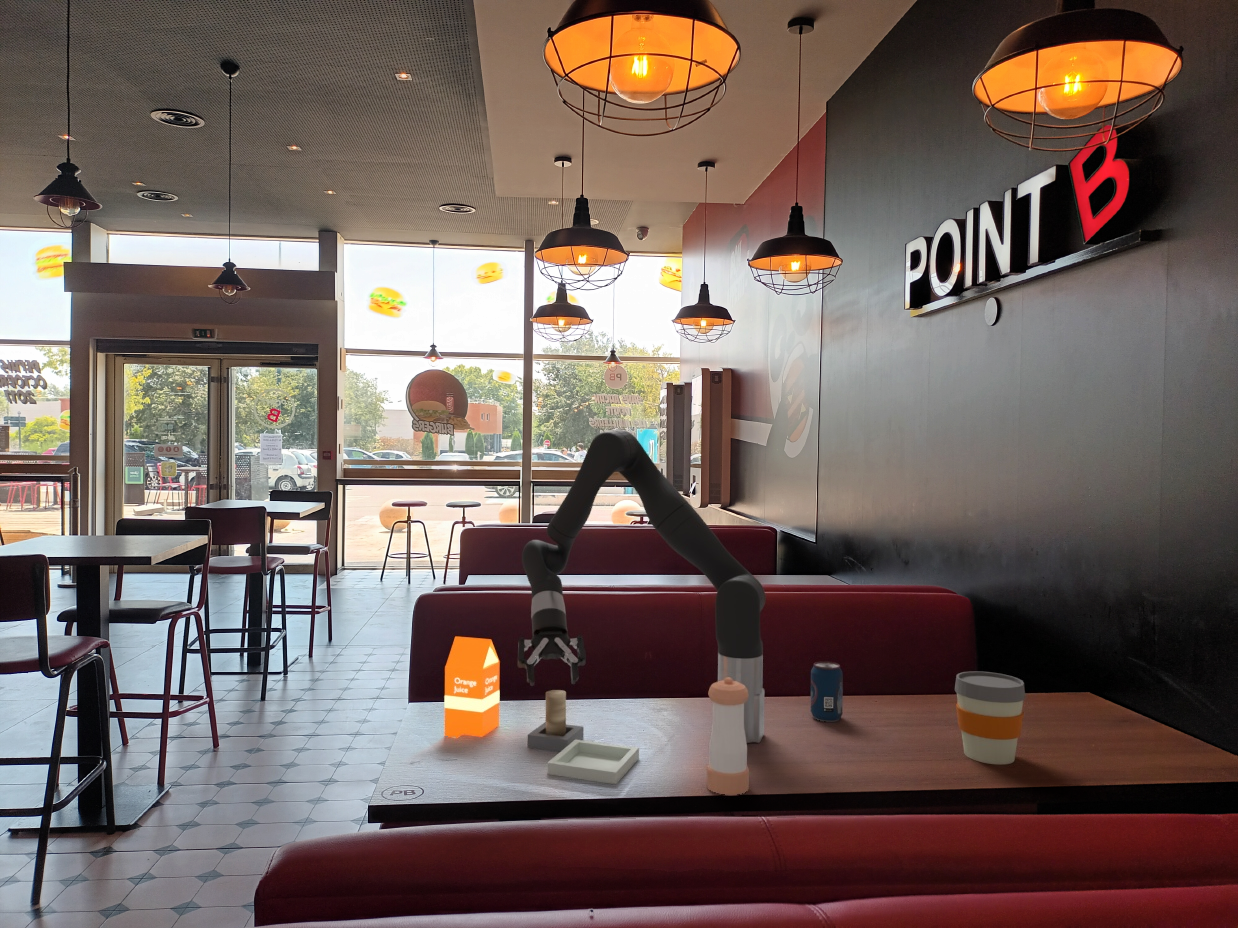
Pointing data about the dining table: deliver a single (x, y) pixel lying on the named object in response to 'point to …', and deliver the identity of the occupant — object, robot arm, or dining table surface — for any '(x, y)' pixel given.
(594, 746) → the tray
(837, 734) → the dining table surface
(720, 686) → the pepper shaker
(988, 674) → the reusable coffee cup
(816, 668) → the soda can
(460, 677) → the orange juice
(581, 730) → the grey square socket
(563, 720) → the dowel
